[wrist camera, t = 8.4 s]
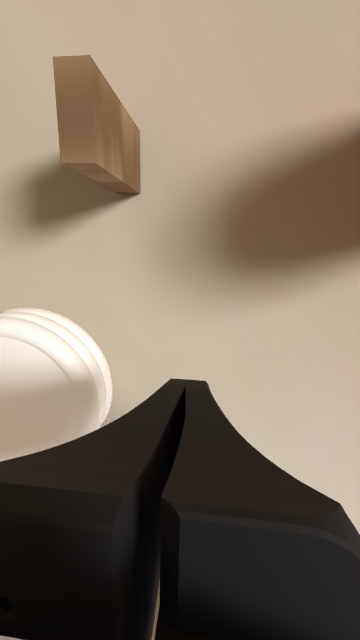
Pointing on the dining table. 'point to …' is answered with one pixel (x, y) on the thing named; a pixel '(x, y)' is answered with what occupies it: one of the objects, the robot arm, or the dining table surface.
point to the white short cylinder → (48, 382)
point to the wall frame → (95, 126)
